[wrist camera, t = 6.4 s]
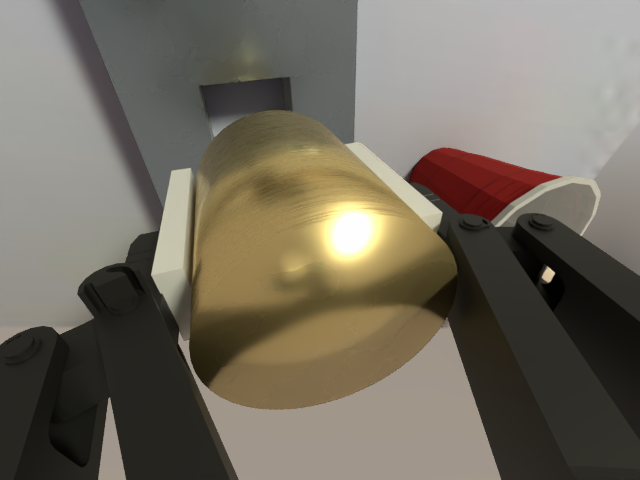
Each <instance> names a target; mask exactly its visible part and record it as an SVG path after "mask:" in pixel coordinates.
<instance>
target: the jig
mask: <svg viewBox="0 0 640 480" xmlns="http://www.w3.org/2000/svg"><path fill="white" fill-rule="evenodd" d="M79 2H80V5H81V7H82V10H83V12H84V15H85V17H86V20H87V22H88V25H89V27H90V30H91V32H92V34H93V37H94V39H95V42H96V44H97V47H98V49H99V52H100V54H101V57H102V59H103V62H104V64H105V66H106V69H107V71H108V74H109V76H110V79H111V81H112V84H113V86H114V89H115V91H116V94H117V96H118V99H119V101H120V103H121V106H122V108H123V111H124V113H125V116H126V118H127V121H128V123H129V126H130V128H131V131H132V133H133V136H134V138H135V140H136V143H137V145H138V148H139V150H140V153H141V155H142V158H143V160H144V163H145V165H146V168H147V170H148V173H149V175H150V177H151V180H152V182H153V185H154V187H155V190H156V192H157V195H158V197H159V200H160V202H161V205H162V207H163V209H164V207H165V202H166V197H167V192H168V187H169V182H170V177H171V172H172V171H173V170H180V169H186V168H191V170H192V173H193V176H194V180H195V183H196V180H197V172H198V168H199V164H200V161H201V159H202V156H203V154H204V152H205V151H206V149H207V147H208V146H209V144H210V143H211V142H212V141H213V139H214V136H213V132H212V128H211V124H210V120H209V116H208V112H207V108H206V104H205V100H204V96H203V92H202V88H201V86H203V85H213V84H223V83H233V82H242V81H252V80H262V79H272V78H282V87H283V97H284V107H285V111H292V112H296V113H301V114H303V115H306V116H308V117H311V118H313V119H314V120H316V121H318V122H320V123H321V124H322V125H324V126H325V127H326V128H327V129H329V130H330V131H331V132H332V133H333V134H334V135H335V136H336V137H337V138H338V139H339V140H340V141H341V142H342V143H343V144H350V143H354V118H355V80H356V42H357V3H358V0H79Z"/></svg>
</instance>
